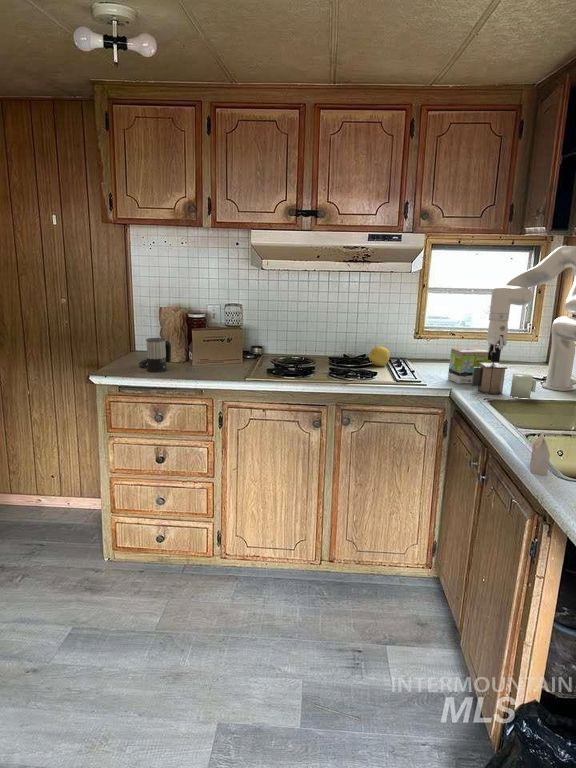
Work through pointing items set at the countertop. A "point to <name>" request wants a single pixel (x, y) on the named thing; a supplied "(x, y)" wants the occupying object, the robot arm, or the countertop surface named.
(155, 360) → the milk frother
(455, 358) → the tea box
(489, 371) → the brown wooden mug
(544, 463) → the tea bag
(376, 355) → the fruit
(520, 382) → the sage mug
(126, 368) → the countertop surface
